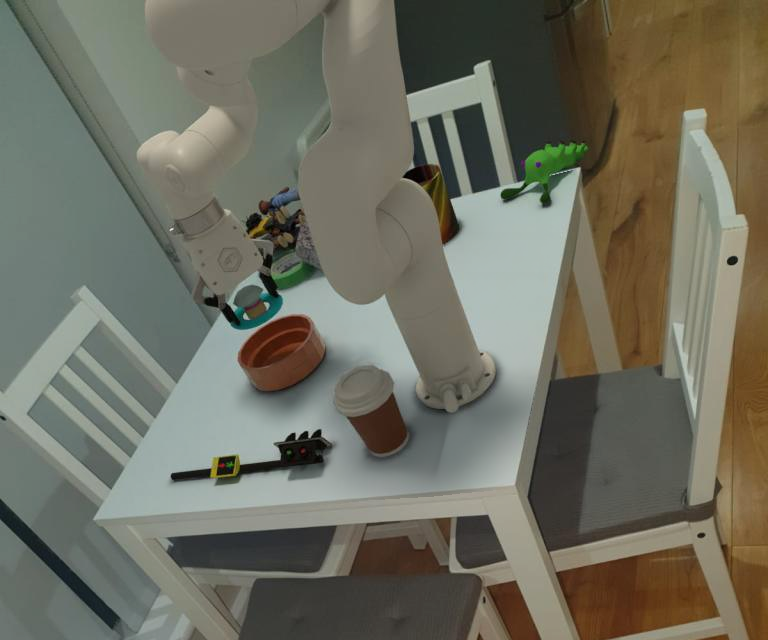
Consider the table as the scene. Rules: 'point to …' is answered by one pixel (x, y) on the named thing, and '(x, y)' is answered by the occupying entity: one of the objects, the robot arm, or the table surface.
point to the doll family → (276, 219)
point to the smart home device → (290, 245)
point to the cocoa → (372, 409)
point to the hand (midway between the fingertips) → (255, 308)
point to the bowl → (281, 352)
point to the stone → (307, 247)
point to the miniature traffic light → (291, 455)
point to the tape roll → (292, 275)
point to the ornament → (255, 307)
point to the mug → (436, 197)
